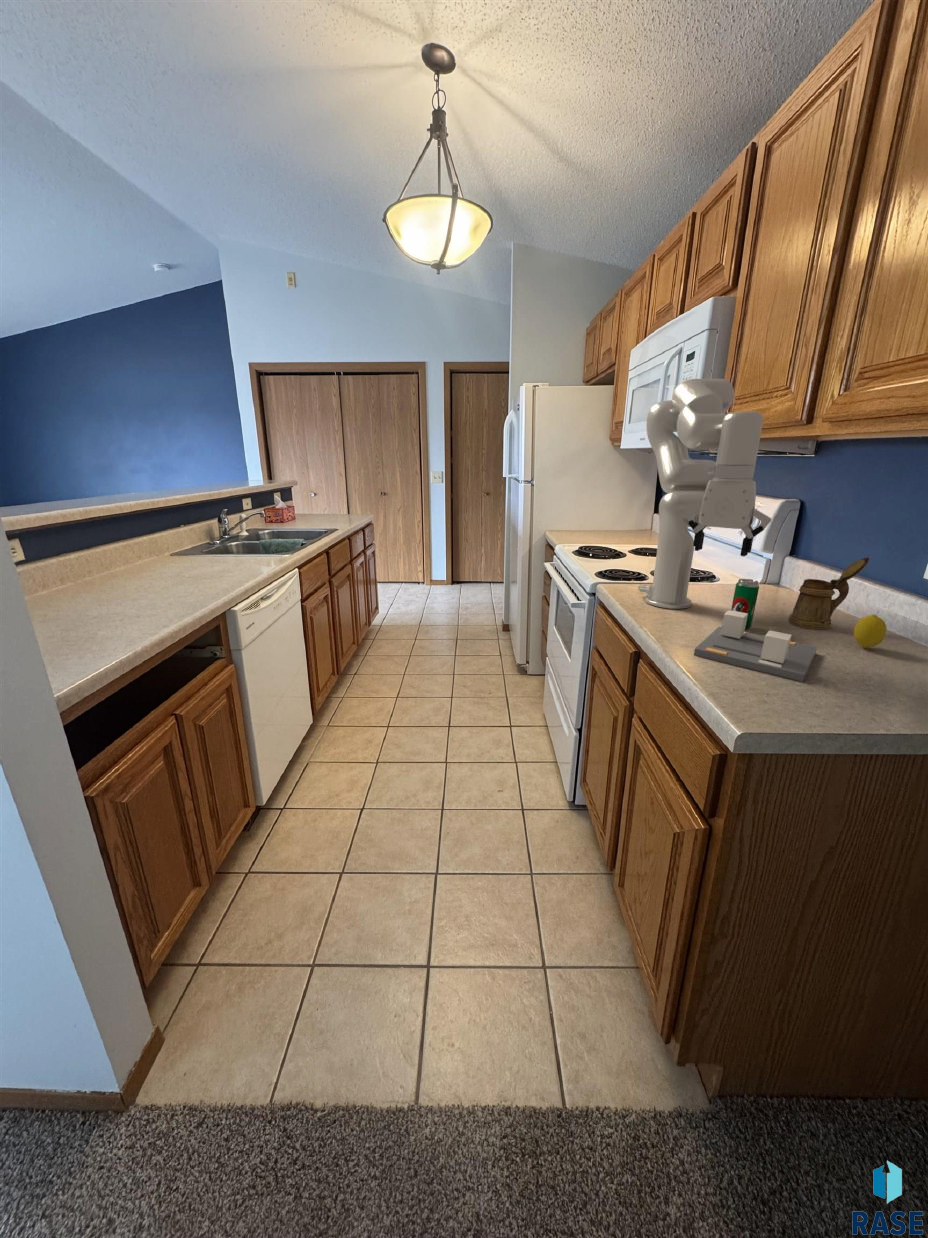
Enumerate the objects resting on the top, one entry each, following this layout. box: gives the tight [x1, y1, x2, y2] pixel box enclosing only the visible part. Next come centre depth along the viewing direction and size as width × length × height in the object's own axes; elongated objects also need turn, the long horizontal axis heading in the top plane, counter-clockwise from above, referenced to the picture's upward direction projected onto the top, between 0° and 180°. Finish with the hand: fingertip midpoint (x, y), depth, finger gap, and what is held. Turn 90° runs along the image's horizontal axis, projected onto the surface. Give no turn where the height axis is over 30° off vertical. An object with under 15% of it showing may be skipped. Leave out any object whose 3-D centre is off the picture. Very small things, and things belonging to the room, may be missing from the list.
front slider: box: [761, 630, 793, 664], centre depth 100 cm, size 4×4×5 cm
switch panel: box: [693, 626, 818, 682], centre depth 107 cm, size 20×18×2 cm
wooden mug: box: [787, 557, 870, 631], centre depth 123 cm, size 9×14×18 cm, turn 69°
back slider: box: [721, 609, 748, 639], centre depth 113 cm, size 4×4×5 cm
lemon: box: [853, 614, 887, 649], centre depth 110 cm, size 6×6×8 cm
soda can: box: [730, 578, 760, 630], centre depth 123 cm, size 5×5×12 cm
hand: (720, 552), depth 112 cm, fingers open, 9 cm apart
